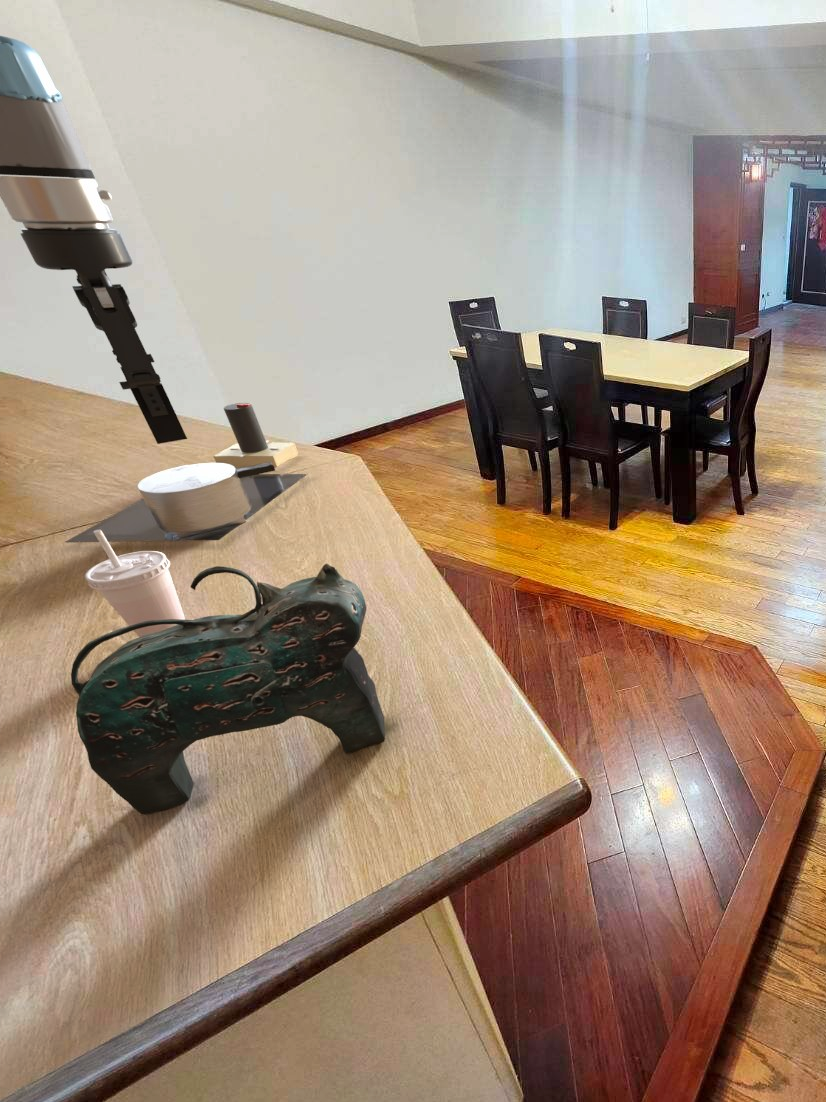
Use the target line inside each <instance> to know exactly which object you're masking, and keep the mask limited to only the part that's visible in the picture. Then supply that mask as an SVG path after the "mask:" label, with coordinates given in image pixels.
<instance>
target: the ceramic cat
mask: <svg viewBox="0 0 826 1102" xmlns="http://www.w3.org/2000/svg"><path fill="white" fill-rule="evenodd" d="M225 573H226V574H232V575H233V574H234V575H237V576H239V577H243V578H244V579H245V580H247V581H248V583H249V584H250V585H251V586H252V588H253V592H254V598H255V606H254V607H253V608H252V609H250V610H249V611H246V612H245V613H243V614H218V615H209V616H203V617H202V616H201V617H199V618H194V619H185V620H182V619H167V620H150V621H145V622H141V623H138V624H135V625H131V626H129V625H128V626H124V627H120V628H118V629H115V630H112V631H110V632H107V633H105V634H102V635H100V636H99V637H97V638H94V639H93V640H91V641H88V642H87V643H86V644H85V645H84V646H83V648H81V650H79V651H78V653H77V655H76V657H75V658H74V661H73V662H72V666H71V672H70V678H71V686H72V687H73V689H74V691H75V693H76V694H77V695H78V699H77V702H76V708H75V710H76V711H75V716H76V724H77V725H76V726H77V732H78V735H79V738H80V740H81V742H82V744H83V745H84V748H85V750H86V754H87V760H88V762H89V766H90V768H91V770H92V771H93V772H94V773H95V774H96V775H97V776H98V777H99V778H100V779H101V780H102V781H104V782H105V783H106V784H107V785H109V787H110V788H111V789H112V790H113V791H114V792H115V793H116V794H117V795H118V796H119V797H121V798H122V799H123V800H124V801H125V802H127V803H128V804H129V806H131V807H132V808H133V809H134V810H136V811H137V812H138V813H140V814H141V815H150V814H153V813H159V812H162V811H163V812H164V811H166V810H169V809H172V808H176V807H178V806H181V805H183V804H185V803H187V802H189V801H190V799H191V796H192V791H193V788H194V785H195V782H194V780H193V778H192V774H191V772H190V770H189V768H188V765H187V762H186V760H185V755H184V751H185V750H186V749H188V747H189V746H191V745H193V744H194V743H195V742H197V741H201V740H204V739H208V738H211V737H212V738H213V737H215V736H217V737H218V736H223V735H226V734H232V733H240V732H246V731H251V730H252V731H253V730H256V729H263V728H266V727H272V726H277V725H281V724H283V723H286V722H287V721H288V720H290V719H292V718H295V717H304V718H307V719H310V720H312V721H314V722H316V723H319V724H321V725H322V726H324V727H326V728H328V729H329V730H331V731H332V733H333V734H334V735H335V736H336V737H337V738H338V740H339V742H340V744H341V748H342V749H343V752H344V753H345V754H346V755H349V754H351V753H354V752H356V751H358V750H361V749H363V748H366V747H369V746H373V745H377V744H381V743H384V742H385V740H386V726H385V724H386V721H385V716H384V712H383V710H382V707H381V704H380V700H379V698H378V697H379V696H378V694H377V689H376V684H375V682H374V680H373V679H372V678H371V677H370V675H369V672H368V669H367V666H366V664H365V660H364V658H363V657H362V655H361V654H360V653H359V652H358V649H356V648H355V647H356V646H357V644H358V643H359V641H360V639H361V636H362V630H363V624H364V620H365V617H366V614H367V603H366V600H365V597H364V594H363V592H362V590H361V589H360V587H359V586H358V585H357V584H356V583H354V582H353V581H351V580H349V579H345V578H344V577H343V575H342V574H340V573H339V571H338V569H336V567H334V566H332V565H330V564H329V563H325V564H324V565H322V567H321V568H320V570H319V572H318V574H317V575H316V576H312V577H308V578H302V579H300V580H297V581H294V582H291V583H289V584H287V585H285V586H284V587H282V588H280V587H277V586H274V585H271V584H269V583H265V582H259V581H257V582H255V581H254V579H252V577H251V576H250V575H249V574H248V573H246V572H245V571H243V570H240V569H237V568H234V567H228V566H219V565H217V566H213V567H209V568H206V569H204V570H203V571H200V572H199V573H198V574H197V575H196V576H195V577H194V579H193V580H192V582H191V584H190V589H192V590H194V591H196V587H197V586H198V585H199V583H200V582H201V581H203V580H204V579H205V578H207V577H210V576H213V575H215V574H225ZM161 624H178V625H176V626H173V627H170V628H168V629H165V630H162V631H160V632H156V633H153V634H149V635H145V636H142V637H139V636H138V637H137V638H134V639H131V640H128V641H127V642H126V643H124V644H122V645H121V646H120V647H119V648H117V649H116V650H115V651H113V652H112V653H111V654H109V655H108V656H107V657H105V658H104V659H102V660H101V661H100V662H99V663H98V664H97V665H96V667H95V668H94V669H93V671H92V673H91V675H90V676H89V678H88V680H86V681H84V682H80V681H79V677H78V675H79V669H80V667H81V666H82V665H81V664H82V663H83V662H84V661H85V660H86V658H87V657H88V656H89V655H90V654H91V652H92V651H93V650H95V648H97V647H98V646H99V645H101V644H103V643H105V642H106V641H110V640H112V639H114V638H117V637H119V636H123V635H125V634H128V633H130V632H134V631H133V630H136V629H140V628H143V627H147V626H153V625H161Z"/></svg>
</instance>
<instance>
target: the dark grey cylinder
mask: <svg viewBox="0 0 826 1102" xmlns="http://www.w3.org/2000/svg"><path fill="white" fill-rule="evenodd" d="M223 411H224V413H225V415H226V418H227V420H228V423H229V426H230V427H231V430H232V432H233V435H234V437H235V439H236V443H238V444H239V447H240V449H241V451H242V452H246V453H251V452H258V451H262V450H265V449H267V448H268V445H267V443H268V442H267V443H266V441H267V440H266V437H265V435H264V432H263V430H262V429H261V425H260V422H259V420H258V418H257V415H256V412H255V410H254V407H253V405H252V403H249V402H237V403H231V404H228V405H225V406H223Z"/></svg>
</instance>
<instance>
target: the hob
mask: <svg viewBox="0 0 826 1102" xmlns="http://www.w3.org/2000/svg"><path fill="white" fill-rule="evenodd" d="M306 476H308V473H262V474H257V475H252V476H247V477H243V478H240V480H241V482H242V485H243V487H244V489H245V492H246V494H247V496H248V499H249V501H250V503H251V510H250V511H249V512H248V513H247V514H245V515H244V518H245V520H246V521H247V520H248V519H249V518H251V517H252V516H254V515H255V514H256V513H258V512H259V511H260V510H261V509H263V508H264V507H265V506H267V505H268V504H269V503H271V502H272V501H273V500H275V499H276V498H277V497H279V496H281V495H282V494H283V493H284V492H286V491H287V490H288V489H290V488H291V487H292V486H294V485H295V484H297V483H298V482H299V481H301V480H302V479H303V478H304V477H306ZM241 524H242V523H240V524H236V525H232V526H228V527H224V528H220V529H216V530H212V531H208V532H204V533H200V534H196V535H192V536H188V537H184V538H179V537H178V535H177V533H176V532H168V531H164V530H162V529H160V528H159V527H158V525H157V523H156V521H155V519H154V518H153V516H152V514H151V512H150V510H149V508H148V506H147V504H146V503H145V501H144V499H143V498H141V499H139V500H137V501H136V502H134V503H132V504H130V505H129V506H126V507H125V508H123V509H121V510H119V511H118V512H116V513H114V514H113V515H110V516H109V517H107V518H105V519H103V520H101V521H99V522H98V523H95V524H94V525H93V526H91V527H89V528H87V529H85V530H84V531H82V532H80V533H78V534H77V535H75V536H73V537H70V538H69V539H67V540H65V543H100V542H99V540H98V539H97V537H96V535H95V534H94V531H95V530H101V531H102V532H103V534H104V536H105V538H106V539H107V541H108V543H113V542H117V543H118V542H120V543H121V542H175V541H176V542H180V541H183V542H184V541H186V542H187V541H220V540H221V539H223V538H224V537H225V536H226V535H228V534H229V533H231V532H232V531H233V530H235V529H236V528H237V527H239V526H240V525H241Z"/></svg>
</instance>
